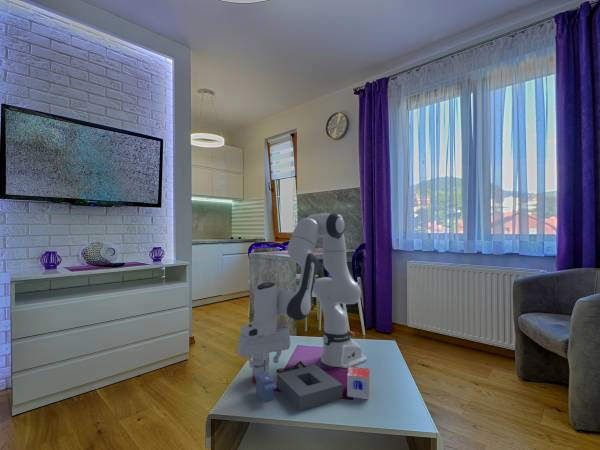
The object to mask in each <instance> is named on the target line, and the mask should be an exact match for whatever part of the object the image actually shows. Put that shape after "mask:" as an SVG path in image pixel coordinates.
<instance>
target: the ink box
mask: <svg viewBox="0 0 600 450" xmlns="http://www.w3.org/2000/svg"><path fill="white" fill-rule="evenodd" d="M252 361H254V362H255V367H251V369H252V373H251V374H252V375H251V376H252V379H251V382H252V383H256V378H255V377H254V373H259V372H264V373H267V374H268V375H269V376H270V352H269V353H264V354H258V355H252Z"/></svg>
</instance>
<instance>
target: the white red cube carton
mask: <svg viewBox="0 0 600 450" xmlns="http://www.w3.org/2000/svg"><path fill="white" fill-rule="evenodd" d="M346 386H347V387H346V396H347V397H351V398H357V399H365V400H369V399H370V368H366V367H365V368H364V367H357V366H352V367H350V366H349V368H348V371H347V375H346Z"/></svg>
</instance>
